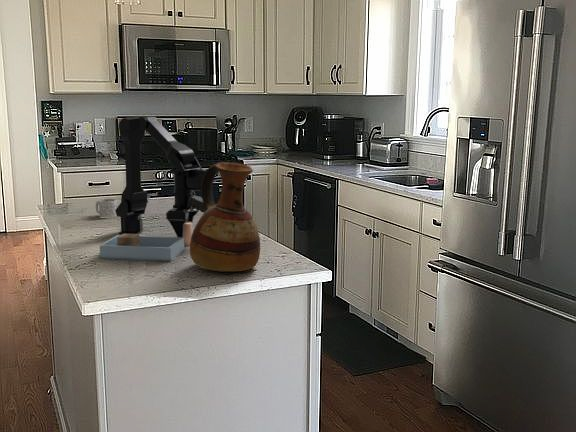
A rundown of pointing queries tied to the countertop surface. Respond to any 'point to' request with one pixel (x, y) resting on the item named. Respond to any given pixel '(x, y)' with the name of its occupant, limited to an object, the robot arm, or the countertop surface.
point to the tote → (144, 249)
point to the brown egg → (187, 233)
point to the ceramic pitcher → (225, 223)
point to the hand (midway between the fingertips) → (184, 236)
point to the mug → (106, 207)
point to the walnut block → (128, 240)
